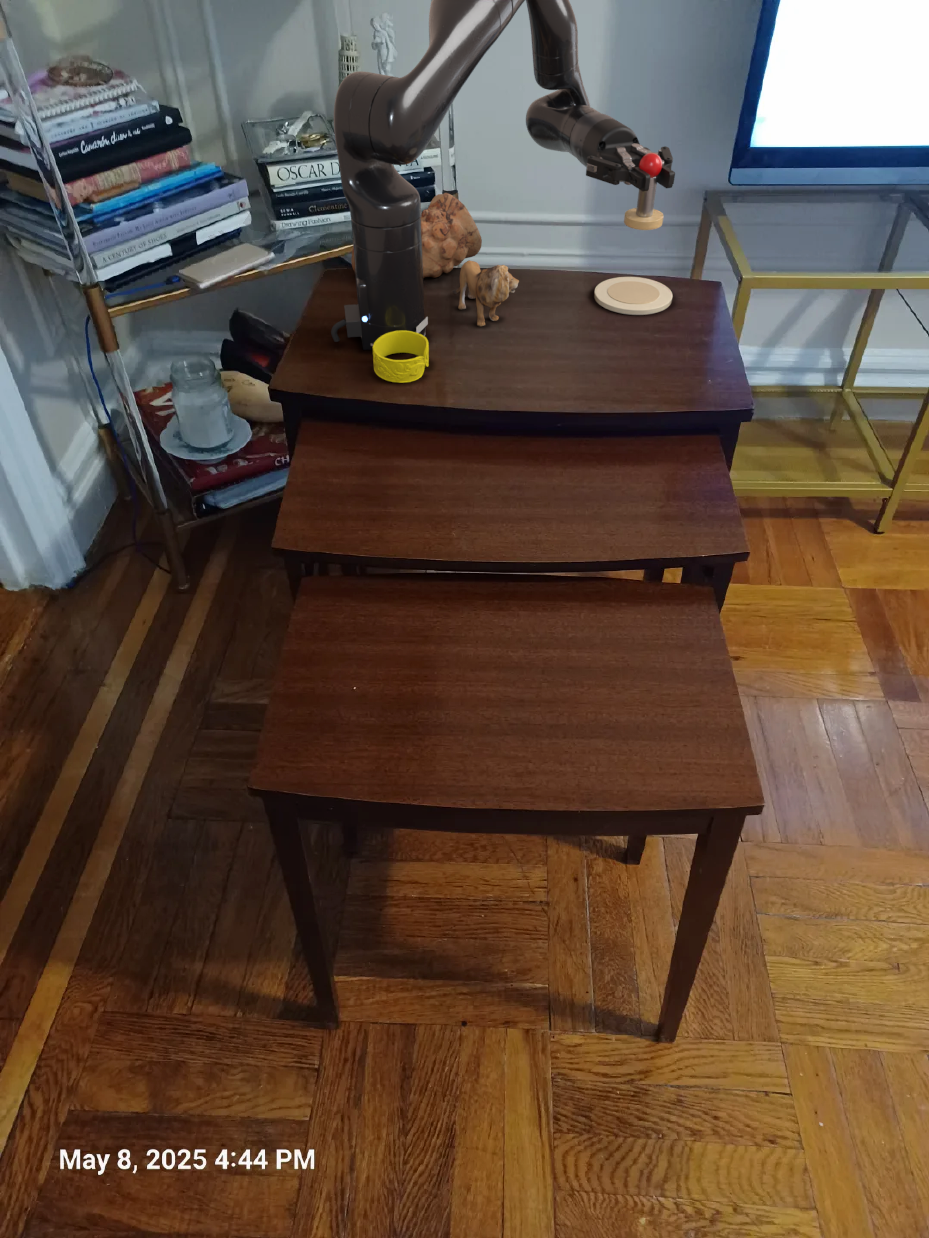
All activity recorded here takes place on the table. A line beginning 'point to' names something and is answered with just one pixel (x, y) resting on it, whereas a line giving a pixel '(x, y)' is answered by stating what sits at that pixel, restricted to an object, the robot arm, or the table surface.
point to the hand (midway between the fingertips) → (659, 182)
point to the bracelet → (400, 344)
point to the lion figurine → (485, 287)
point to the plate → (633, 295)
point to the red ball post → (646, 198)
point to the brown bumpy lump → (445, 235)
